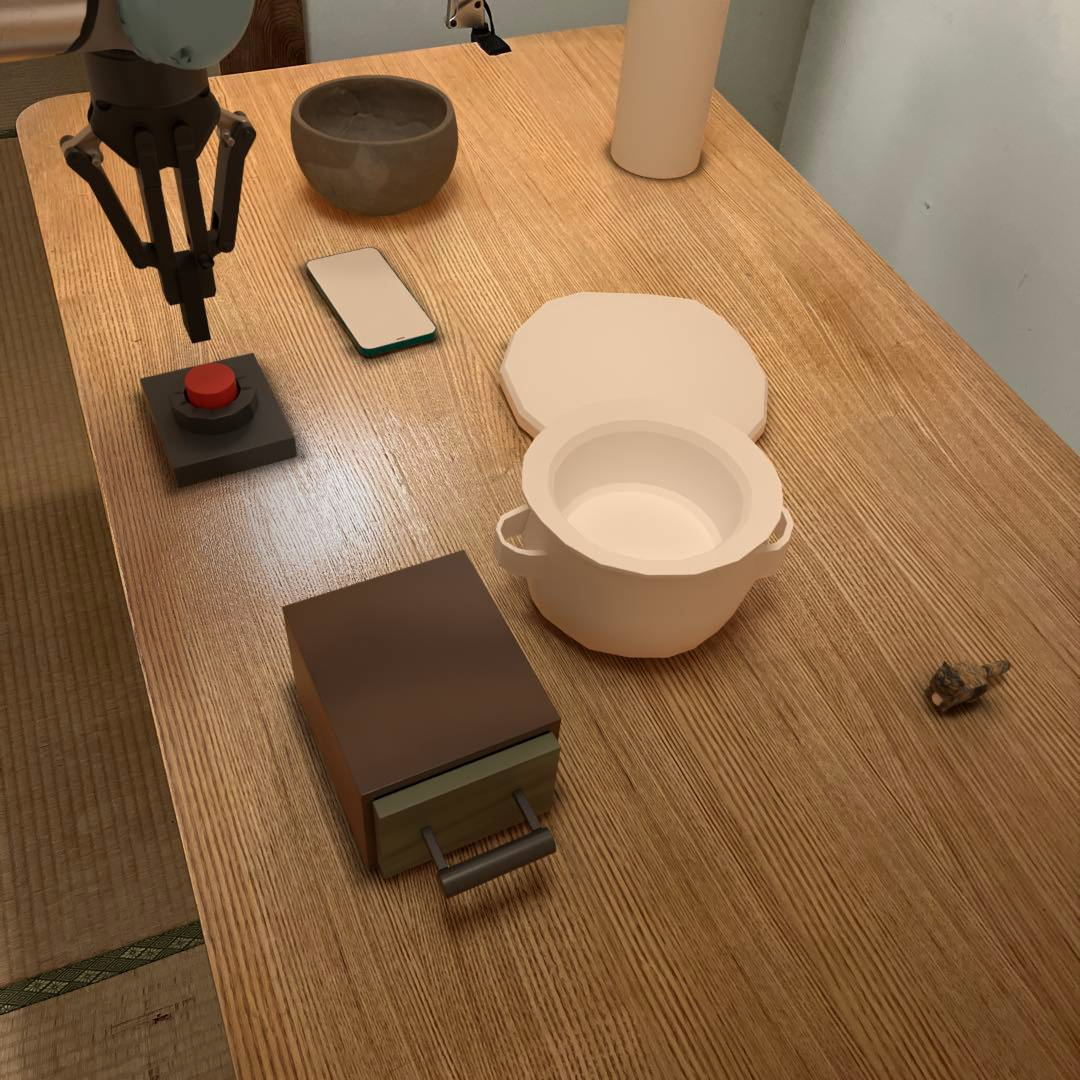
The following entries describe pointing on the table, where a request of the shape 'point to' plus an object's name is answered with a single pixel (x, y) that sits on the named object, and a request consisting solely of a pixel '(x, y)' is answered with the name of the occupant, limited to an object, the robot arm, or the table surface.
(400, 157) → the bowl
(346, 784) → the cabinet
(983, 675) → the cat figurine
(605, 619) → the pot
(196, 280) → the robot arm
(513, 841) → the drawer
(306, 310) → the table surface
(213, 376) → the button
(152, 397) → the button block
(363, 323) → the smartphone
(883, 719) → the table surface
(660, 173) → the tall pillar cylinder
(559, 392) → the decorative plate
